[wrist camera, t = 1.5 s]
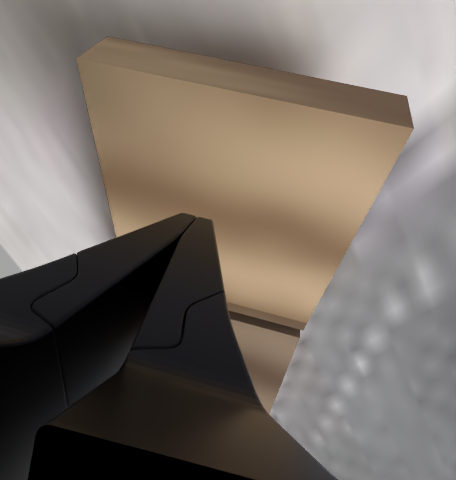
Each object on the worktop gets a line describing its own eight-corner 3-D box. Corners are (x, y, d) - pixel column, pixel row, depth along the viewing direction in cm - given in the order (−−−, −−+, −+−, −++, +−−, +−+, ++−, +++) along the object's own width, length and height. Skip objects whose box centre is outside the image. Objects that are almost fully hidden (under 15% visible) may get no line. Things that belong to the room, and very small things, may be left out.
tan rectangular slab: (306, 299, 20) (303, 330, 19) (141, 256, 21) (126, 283, 19) (406, 96, 11) (413, 128, 10) (107, 35, 12) (75, 58, 10)
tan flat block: (269, 392, 26) (266, 421, 24) (141, 355, 26) (128, 380, 25) (300, 309, 21) (299, 337, 19) (143, 268, 22) (127, 291, 20)
